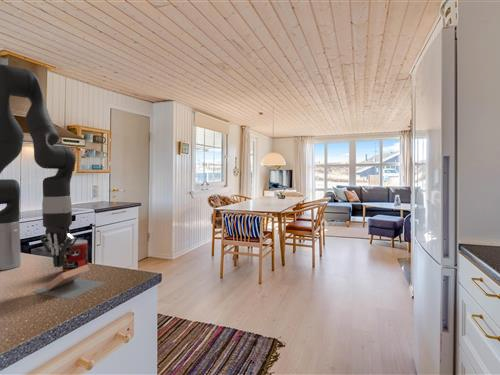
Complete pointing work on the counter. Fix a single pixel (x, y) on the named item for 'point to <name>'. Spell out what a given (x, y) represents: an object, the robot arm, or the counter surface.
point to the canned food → (76, 256)
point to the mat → (71, 288)
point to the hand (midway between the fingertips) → (58, 266)
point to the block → (67, 277)
